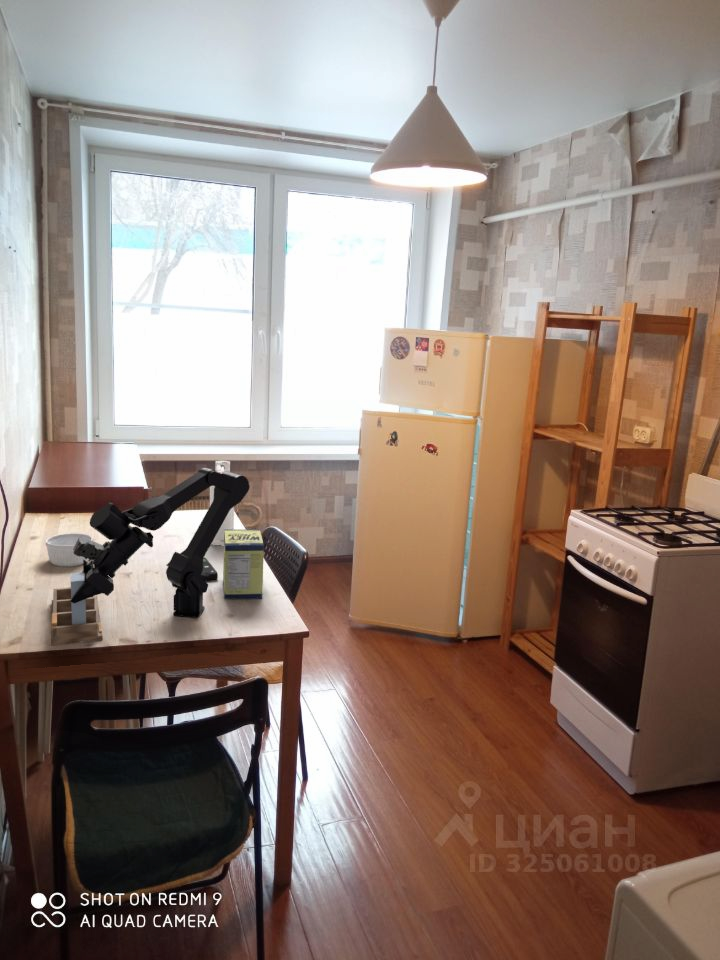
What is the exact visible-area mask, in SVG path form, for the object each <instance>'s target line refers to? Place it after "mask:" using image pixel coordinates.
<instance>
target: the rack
mask: <svg viewBox="0 0 720 960" xmlns="http://www.w3.org/2000/svg"><path fill="white" fill-rule="evenodd" d="M52 590H53V594H52V599H51V609H50V611H51V612H50V613H51V615H50V646H56V645H65V644H75V643H83V642H84V643H85V642H94V641H103V629H102V623H101V615H100V609H99V607H100V606H99V599H98V595H95V596H92V597H90V598H87V599H85V600H86V624H78V625H72V607H71V592H70V590H71V587H61V588H53V589H52Z"/></svg>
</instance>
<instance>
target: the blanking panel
mask: <svg viewBox="0 0 720 960" xmlns="http://www.w3.org/2000/svg"><path fill="white" fill-rule="evenodd" d="M69 578H70V588H71V599H72V597H73V596H74V595H75V593H76V592H77V591H78V589H79V588H80V587H81V585H82V584H83V583H84V573H82V572H77V573H76V572H75V573H74V572H73V573H70V577H69ZM71 607H72V625H78V624H86V600H82V601H79V602H77V603H72V602H71Z"/></svg>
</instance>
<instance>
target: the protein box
mask: <svg viewBox="0 0 720 960" xmlns="http://www.w3.org/2000/svg"><path fill="white" fill-rule="evenodd" d="M223 541H224V546H223V569H222V570H223V571H222V574H223V580H222V581H223V597H224V600H244V599H245V600H246V599H247V600H248V599H250V600H251V599H263V585H264V553H265V550H264V549H265V545H264V541H263V536H262V533H261V529H234V530H226V529H224V540H223Z"/></svg>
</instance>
